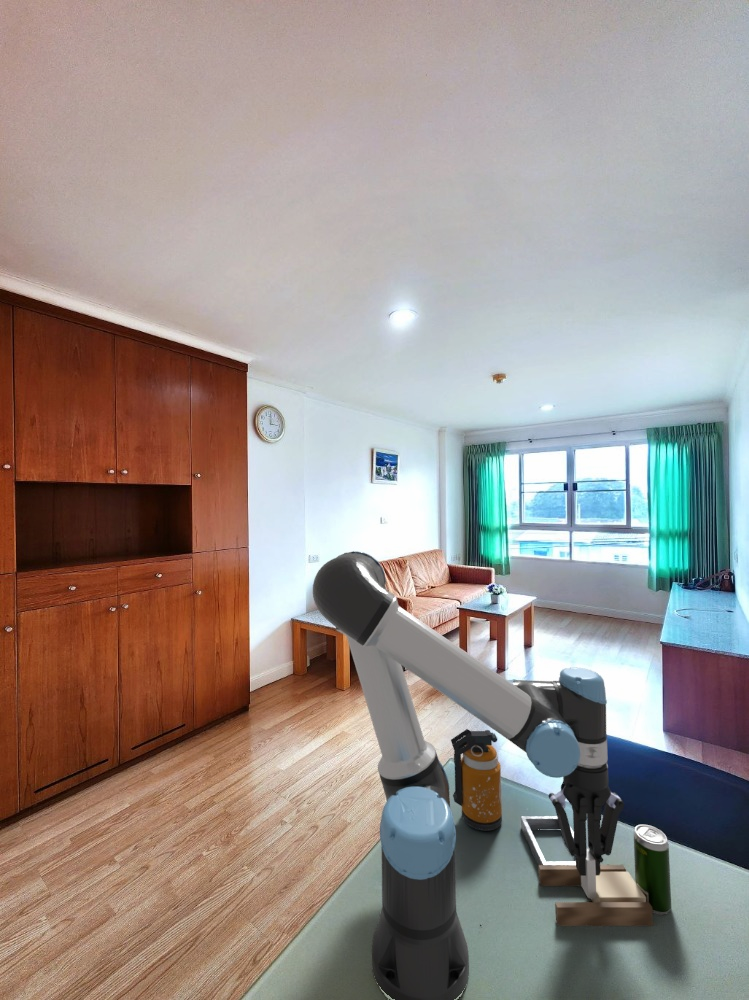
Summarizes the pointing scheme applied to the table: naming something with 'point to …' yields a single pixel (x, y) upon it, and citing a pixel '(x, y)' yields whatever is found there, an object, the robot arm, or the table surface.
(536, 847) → the frame
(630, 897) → the block
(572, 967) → the table surface
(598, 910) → the beam
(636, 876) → the beer can
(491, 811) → the canister
